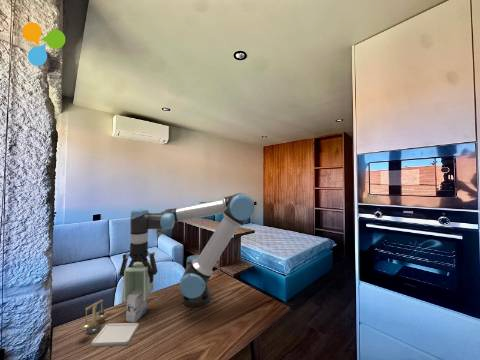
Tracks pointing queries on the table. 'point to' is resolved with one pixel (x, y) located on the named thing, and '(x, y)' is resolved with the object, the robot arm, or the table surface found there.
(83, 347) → the table surface
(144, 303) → the ink box
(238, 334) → the table surface
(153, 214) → the robot arm
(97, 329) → the balance
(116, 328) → the dish
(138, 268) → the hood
